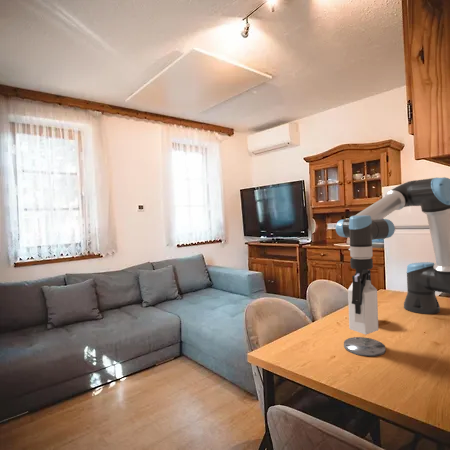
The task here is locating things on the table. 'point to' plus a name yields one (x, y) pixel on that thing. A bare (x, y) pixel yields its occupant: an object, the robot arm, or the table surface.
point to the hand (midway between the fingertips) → (363, 318)
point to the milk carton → (365, 310)
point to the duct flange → (364, 346)
